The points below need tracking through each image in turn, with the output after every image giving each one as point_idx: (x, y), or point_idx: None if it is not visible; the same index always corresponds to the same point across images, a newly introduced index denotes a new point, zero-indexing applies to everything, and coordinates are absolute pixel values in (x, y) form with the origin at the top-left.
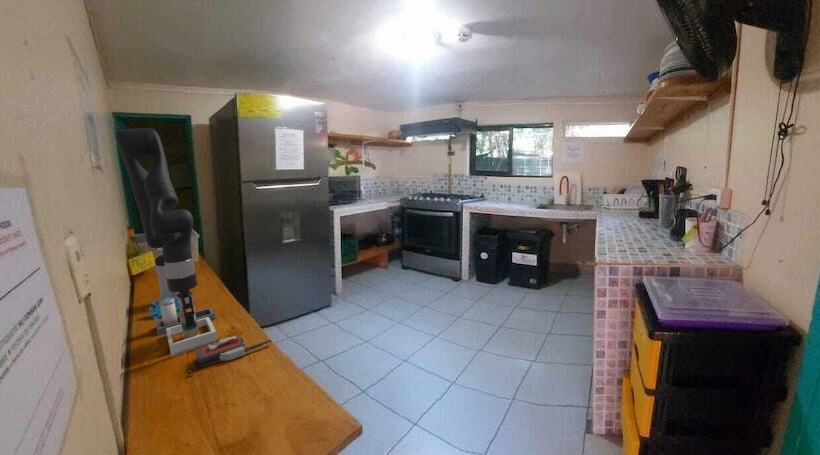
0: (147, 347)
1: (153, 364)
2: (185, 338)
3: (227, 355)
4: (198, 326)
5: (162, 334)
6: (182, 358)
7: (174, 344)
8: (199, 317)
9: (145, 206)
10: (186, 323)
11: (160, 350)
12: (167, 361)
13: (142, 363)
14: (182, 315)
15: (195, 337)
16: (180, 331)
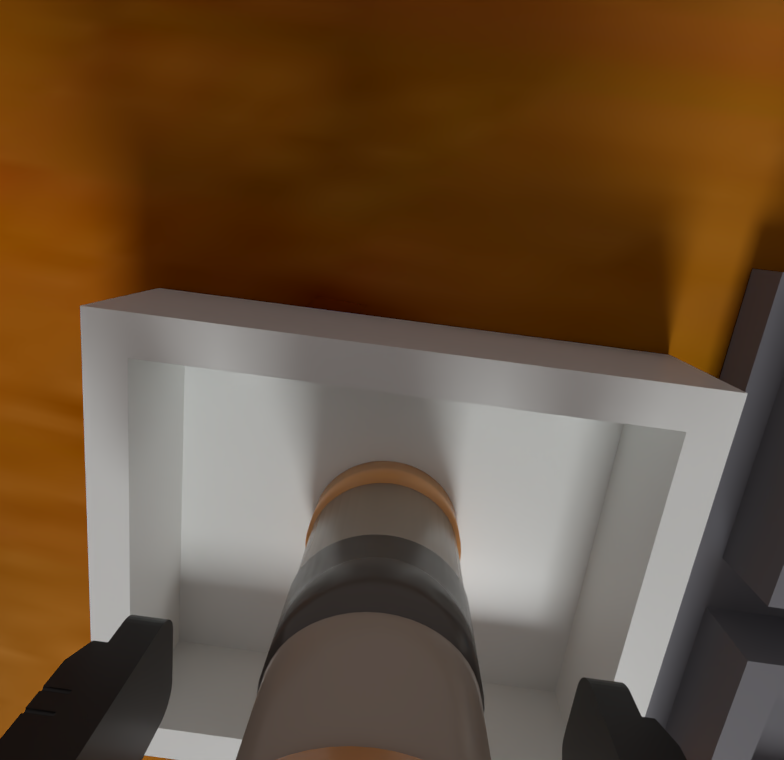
0: (636, 134)
1: (111, 116)
2: (347, 486)
3: None
4: (581, 652)
5: (778, 328)
6: (39, 357)
7: (88, 361)
8: (733, 749)
9: None
10: (91, 676)
11: (412, 234)
12: (77, 238)
13: (228, 23)
14: None
15: (90, 573)
16: (624, 494)
